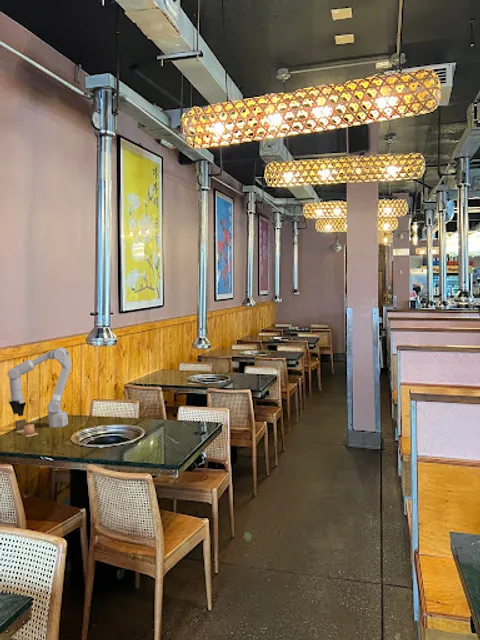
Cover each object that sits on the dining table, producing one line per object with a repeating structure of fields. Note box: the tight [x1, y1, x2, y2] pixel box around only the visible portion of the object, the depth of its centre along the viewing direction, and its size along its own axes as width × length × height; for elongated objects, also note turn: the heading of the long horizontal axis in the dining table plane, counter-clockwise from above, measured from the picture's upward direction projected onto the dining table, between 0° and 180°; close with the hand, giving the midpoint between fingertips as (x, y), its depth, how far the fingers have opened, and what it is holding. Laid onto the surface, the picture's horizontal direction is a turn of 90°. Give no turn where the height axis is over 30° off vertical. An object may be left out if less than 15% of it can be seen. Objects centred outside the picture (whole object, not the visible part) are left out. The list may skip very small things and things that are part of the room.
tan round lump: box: [23, 423, 36, 436], centre depth 254 cm, size 5×5×4 cm
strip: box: [14, 418, 39, 438], centre depth 258 cm, size 20×6×6 cm, turn 42°
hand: (18, 414), depth 263 cm, fingers open, 7 cm apart
